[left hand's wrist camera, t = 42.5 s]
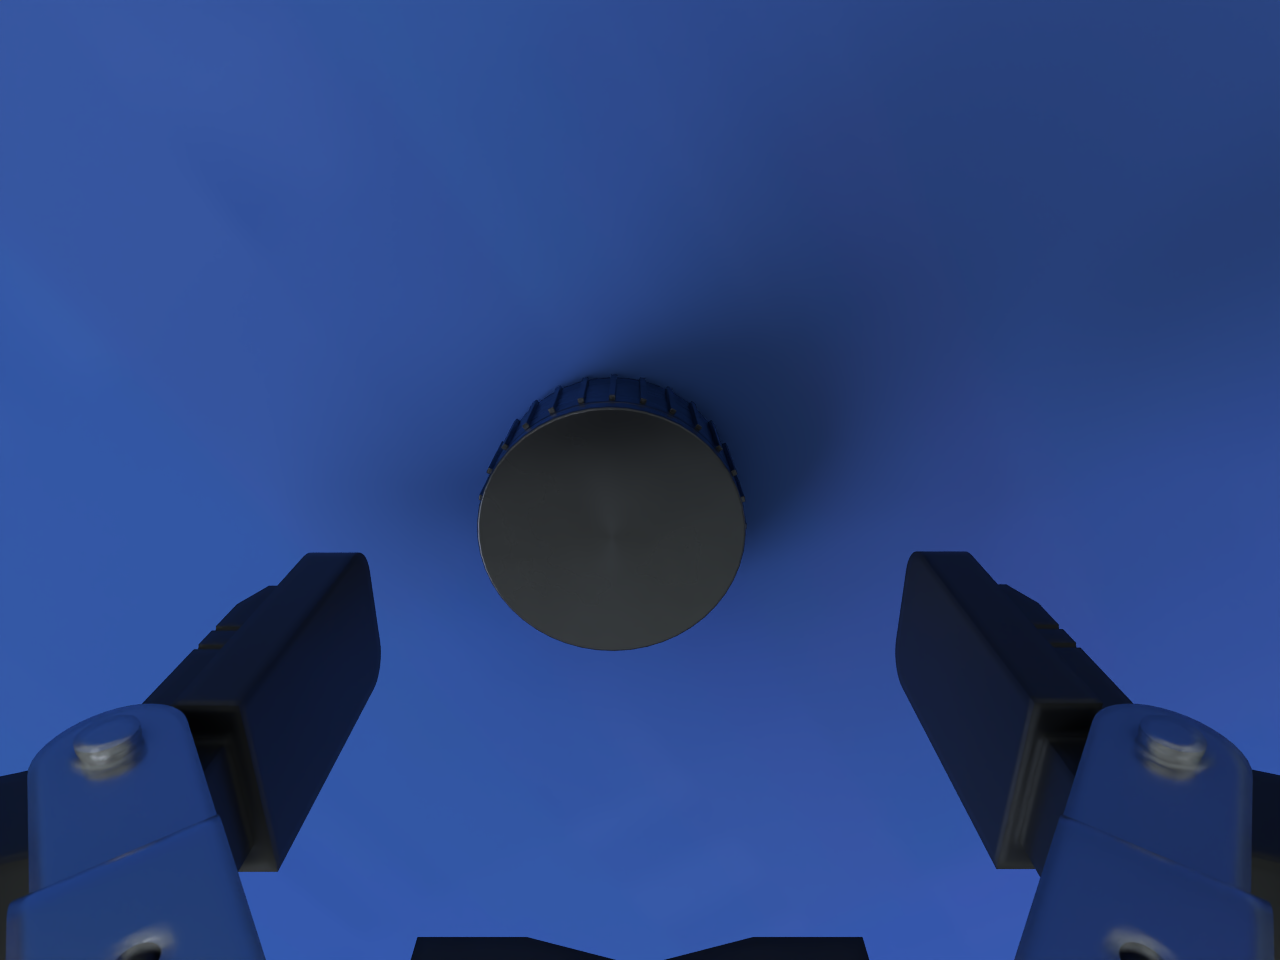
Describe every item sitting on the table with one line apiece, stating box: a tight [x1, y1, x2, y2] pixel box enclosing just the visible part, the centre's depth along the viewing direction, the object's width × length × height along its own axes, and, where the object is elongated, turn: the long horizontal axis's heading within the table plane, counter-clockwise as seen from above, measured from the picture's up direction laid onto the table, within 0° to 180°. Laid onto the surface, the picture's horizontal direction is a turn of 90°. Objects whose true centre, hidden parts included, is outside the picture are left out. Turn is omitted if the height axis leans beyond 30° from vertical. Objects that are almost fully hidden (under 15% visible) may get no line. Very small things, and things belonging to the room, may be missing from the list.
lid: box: [477, 375, 747, 651], centre depth 15 cm, size 5×5×2 cm
